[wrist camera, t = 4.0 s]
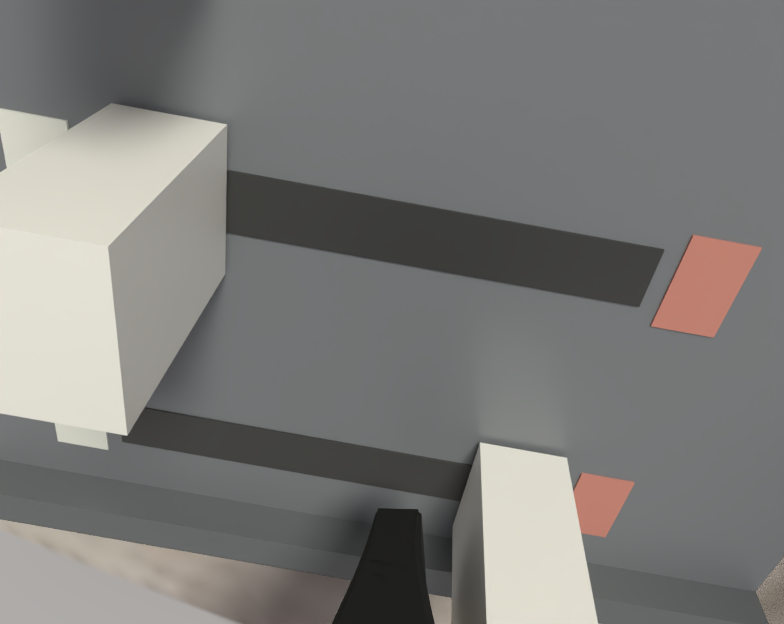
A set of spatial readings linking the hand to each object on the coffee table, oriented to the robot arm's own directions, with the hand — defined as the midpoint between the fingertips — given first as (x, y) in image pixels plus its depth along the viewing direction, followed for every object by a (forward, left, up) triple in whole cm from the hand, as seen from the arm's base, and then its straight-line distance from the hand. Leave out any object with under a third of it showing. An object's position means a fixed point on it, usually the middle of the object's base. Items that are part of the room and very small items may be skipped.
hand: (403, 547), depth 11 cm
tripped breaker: (-2, 0, -2) cm, 2 cm away
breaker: (+4, -5, -2) cm, 7 cm away
